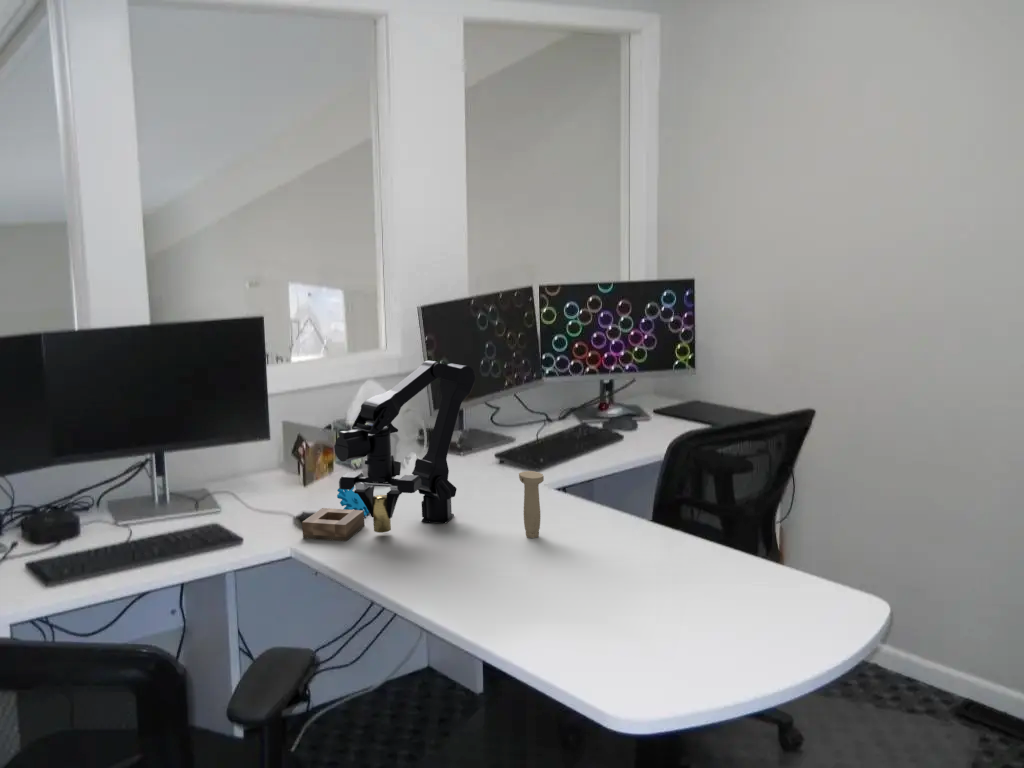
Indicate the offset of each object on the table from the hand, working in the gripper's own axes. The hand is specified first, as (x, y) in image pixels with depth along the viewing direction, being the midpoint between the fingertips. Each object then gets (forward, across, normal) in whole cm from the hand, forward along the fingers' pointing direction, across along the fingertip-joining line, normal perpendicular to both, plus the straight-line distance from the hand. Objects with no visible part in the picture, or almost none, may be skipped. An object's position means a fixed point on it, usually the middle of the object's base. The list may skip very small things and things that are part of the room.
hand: (381, 517), depth 236 cm
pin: (+3, 0, 0) cm, 3 cm away
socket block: (+4, +12, 0) cm, 13 cm away
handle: (+5, -35, -6) cm, 36 cm away
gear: (+5, +13, -14) cm, 20 cm away
